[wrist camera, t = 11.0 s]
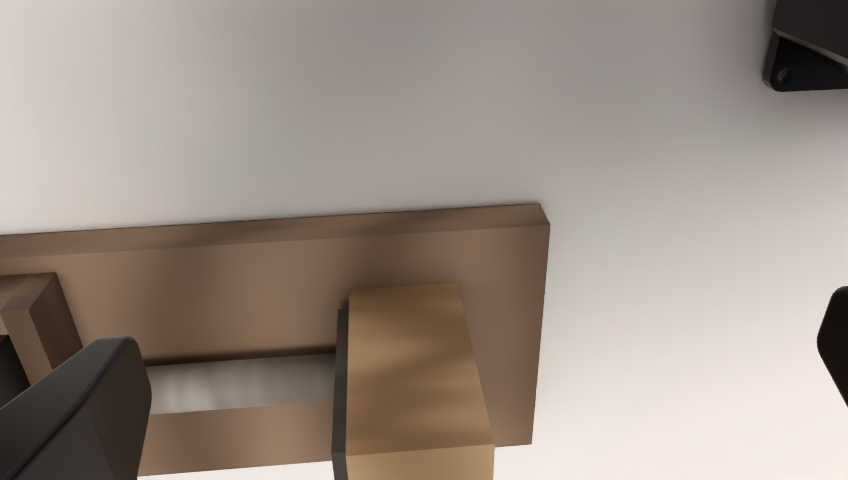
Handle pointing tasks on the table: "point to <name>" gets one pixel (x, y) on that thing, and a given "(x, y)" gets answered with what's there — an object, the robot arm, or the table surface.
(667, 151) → the table surface
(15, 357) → the tan wooden block
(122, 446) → the robot arm
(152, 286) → the rail
